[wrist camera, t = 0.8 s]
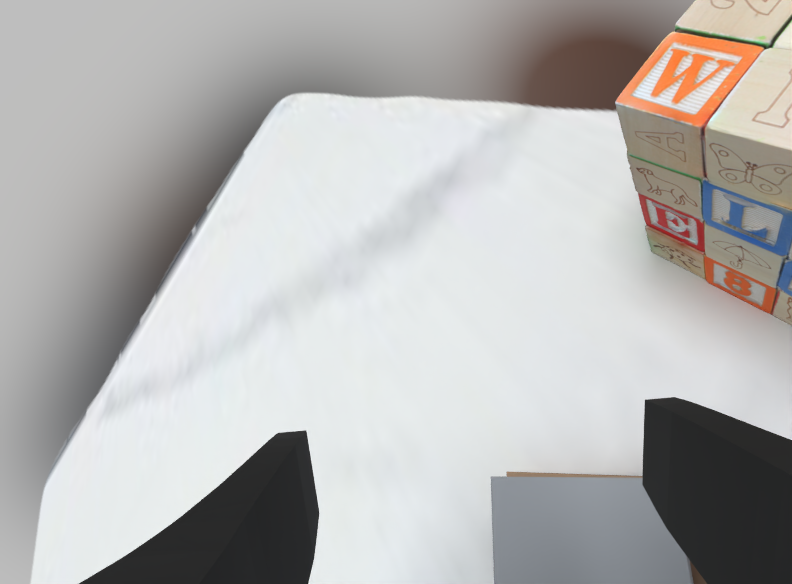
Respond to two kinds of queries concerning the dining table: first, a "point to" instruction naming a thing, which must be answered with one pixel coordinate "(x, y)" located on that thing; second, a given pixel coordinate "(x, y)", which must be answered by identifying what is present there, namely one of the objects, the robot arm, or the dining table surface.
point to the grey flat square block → (581, 533)
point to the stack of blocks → (719, 148)
